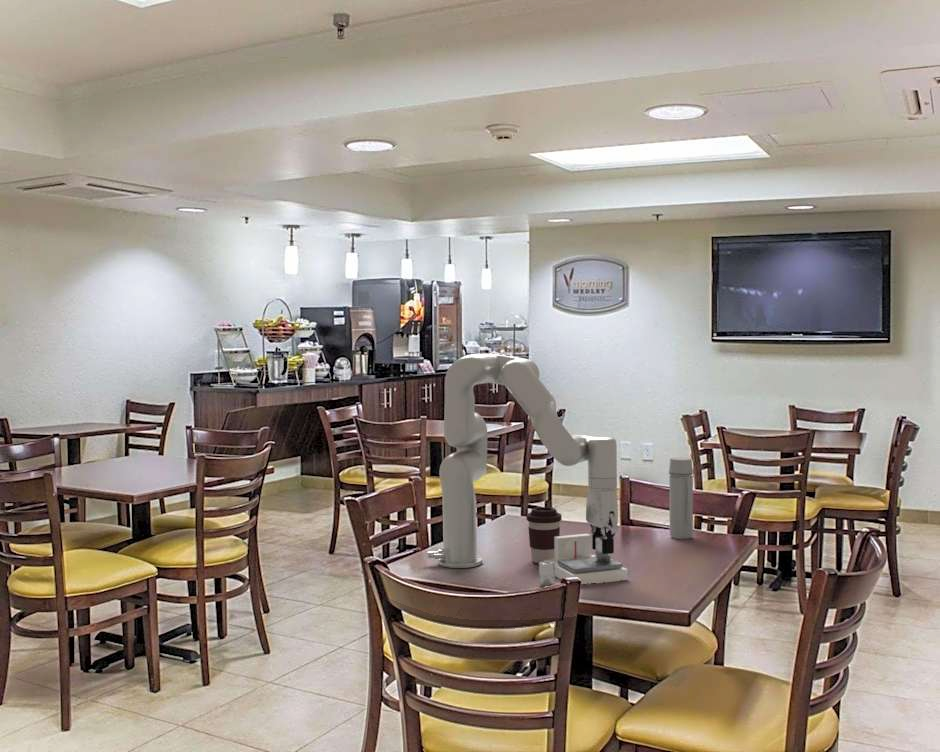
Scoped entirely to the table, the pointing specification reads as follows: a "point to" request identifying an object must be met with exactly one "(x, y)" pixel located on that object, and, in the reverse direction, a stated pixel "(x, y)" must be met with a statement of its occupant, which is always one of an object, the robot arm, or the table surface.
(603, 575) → the scale body
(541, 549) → the coffee cup
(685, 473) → the water bottle
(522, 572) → the table surface
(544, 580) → the spacer
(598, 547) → the glass jar
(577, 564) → the grey flat plate
